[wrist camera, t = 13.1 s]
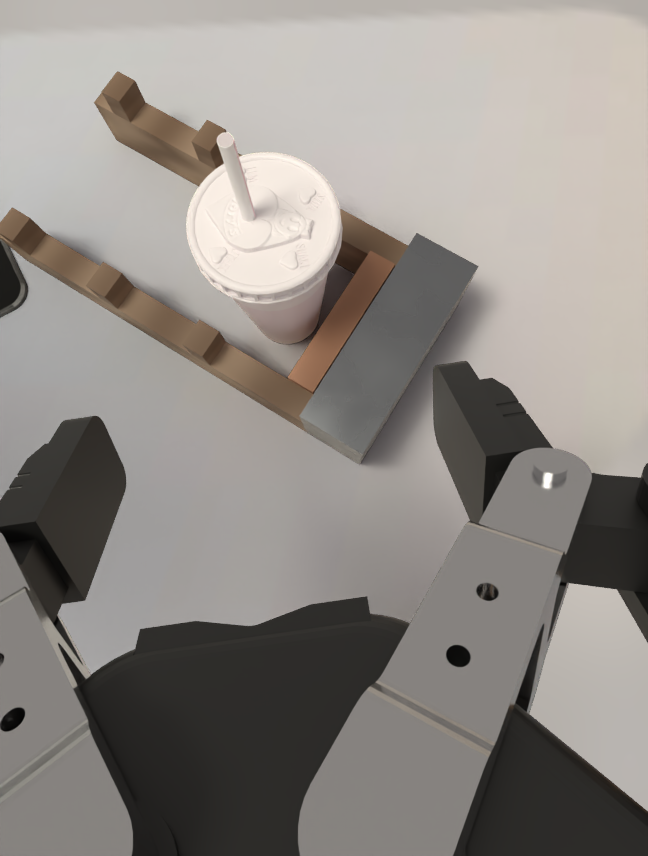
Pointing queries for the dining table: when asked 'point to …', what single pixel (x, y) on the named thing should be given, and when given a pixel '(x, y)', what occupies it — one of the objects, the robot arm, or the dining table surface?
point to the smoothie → (267, 237)
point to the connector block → (387, 348)
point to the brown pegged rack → (200, 342)
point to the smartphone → (10, 282)
